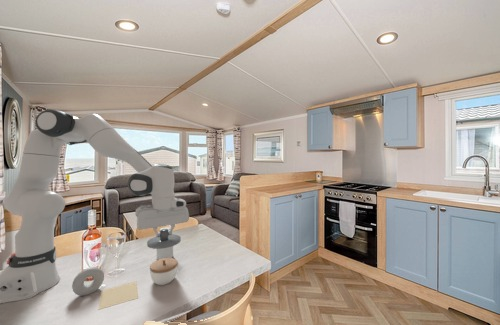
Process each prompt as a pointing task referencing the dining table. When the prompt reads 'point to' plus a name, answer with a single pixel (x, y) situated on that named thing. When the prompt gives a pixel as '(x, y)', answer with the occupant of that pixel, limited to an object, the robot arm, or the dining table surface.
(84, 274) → the donut
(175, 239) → the lid
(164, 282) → the lidded jar
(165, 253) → the pill bottle
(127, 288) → the mat
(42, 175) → the robot arm
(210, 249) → the dining table surface
